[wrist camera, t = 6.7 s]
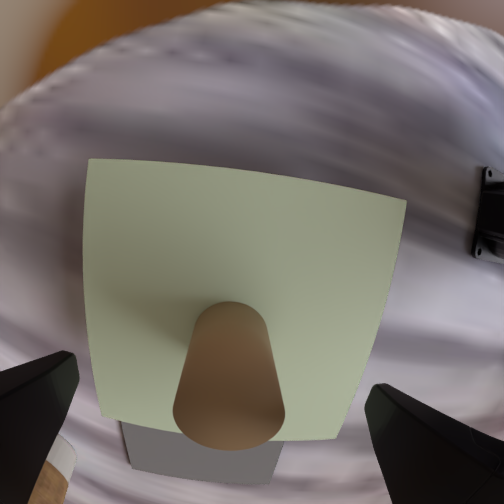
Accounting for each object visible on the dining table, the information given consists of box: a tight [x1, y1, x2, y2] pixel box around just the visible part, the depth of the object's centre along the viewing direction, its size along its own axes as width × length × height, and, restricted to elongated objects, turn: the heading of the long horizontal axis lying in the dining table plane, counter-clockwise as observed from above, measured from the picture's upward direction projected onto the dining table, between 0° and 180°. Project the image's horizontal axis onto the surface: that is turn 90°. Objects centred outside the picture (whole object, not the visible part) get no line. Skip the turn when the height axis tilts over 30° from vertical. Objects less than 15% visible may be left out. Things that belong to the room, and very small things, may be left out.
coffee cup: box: [28, 434, 77, 504], centre depth 11 cm, size 8×8×15 cm
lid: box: [83, 159, 407, 451], centre depth 9 cm, size 12×12×6 cm
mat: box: [121, 421, 284, 484], centre depth 18 cm, size 12×12×1 cm
